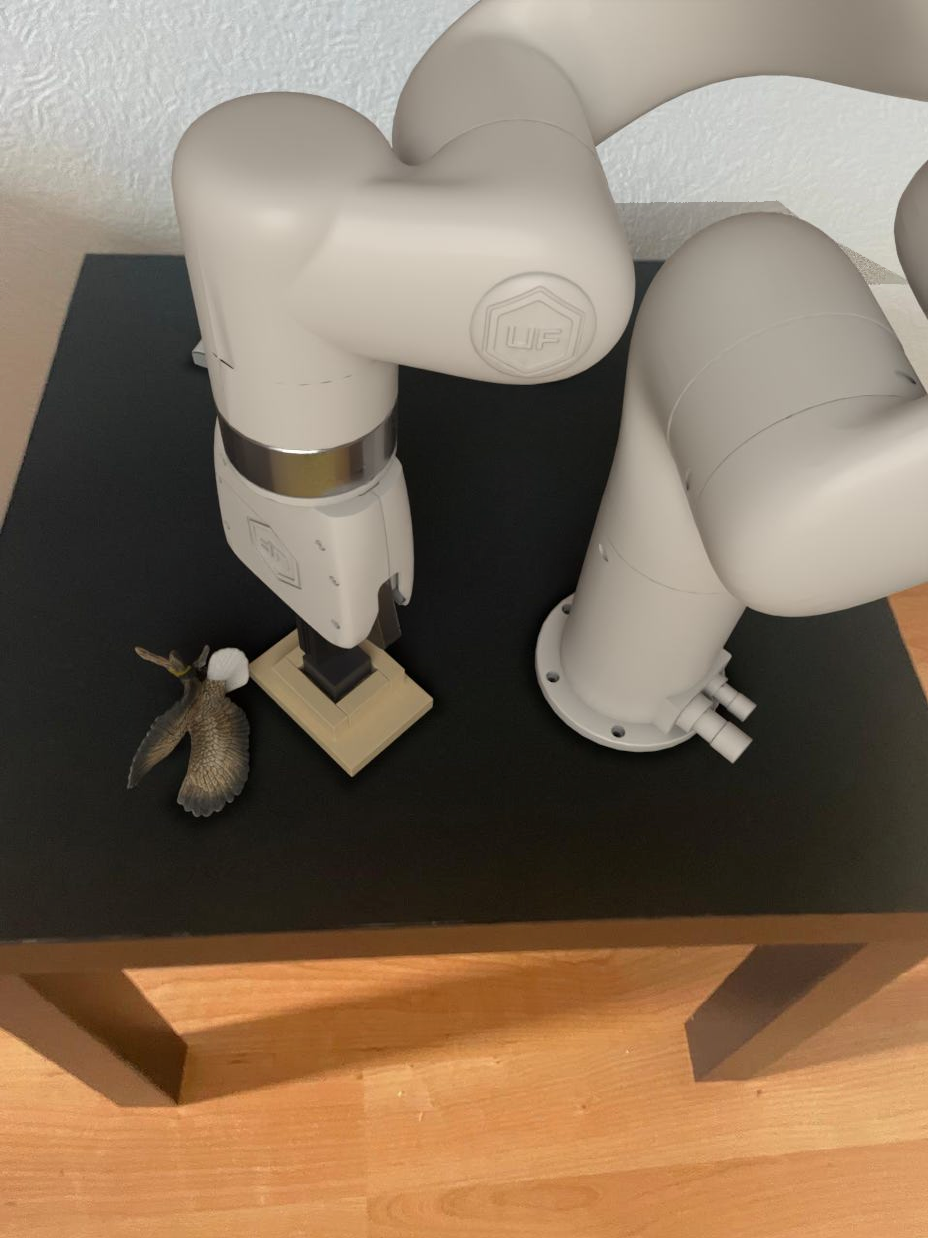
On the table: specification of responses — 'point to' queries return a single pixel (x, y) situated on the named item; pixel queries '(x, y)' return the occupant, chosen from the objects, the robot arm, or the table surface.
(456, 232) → the robot arm
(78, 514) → the table surface
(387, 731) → the tan tiered pedestal
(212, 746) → the eagle figurine
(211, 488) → the table surface
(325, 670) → the front key
